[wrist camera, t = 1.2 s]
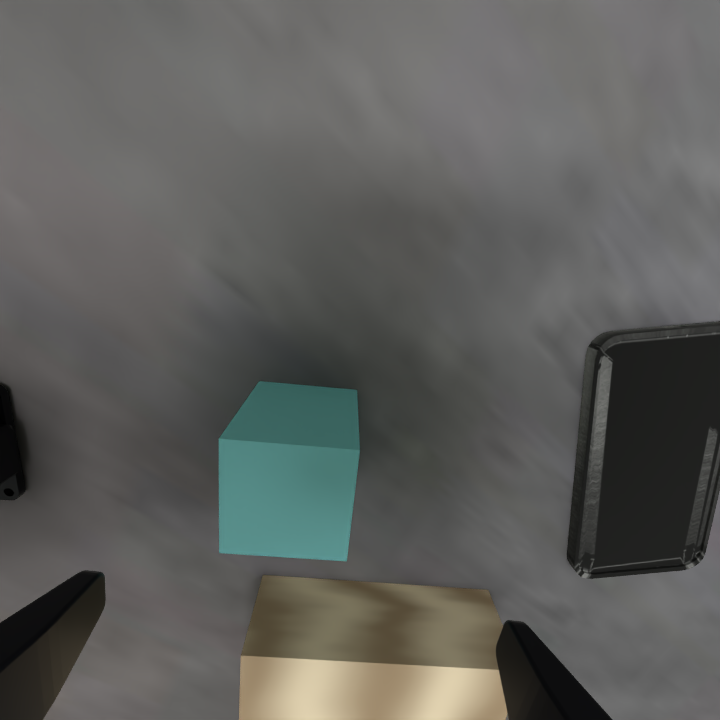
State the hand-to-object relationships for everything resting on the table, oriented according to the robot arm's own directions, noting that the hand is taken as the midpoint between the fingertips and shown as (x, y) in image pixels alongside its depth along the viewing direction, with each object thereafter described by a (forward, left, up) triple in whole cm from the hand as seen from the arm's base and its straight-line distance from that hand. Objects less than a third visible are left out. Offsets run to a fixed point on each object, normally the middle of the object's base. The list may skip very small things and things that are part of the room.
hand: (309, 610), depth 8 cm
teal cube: (-1, -2, -11) cm, 12 cm away
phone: (+18, -2, -12) cm, 21 cm away
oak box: (+4, -19, -12) cm, 22 cm away
